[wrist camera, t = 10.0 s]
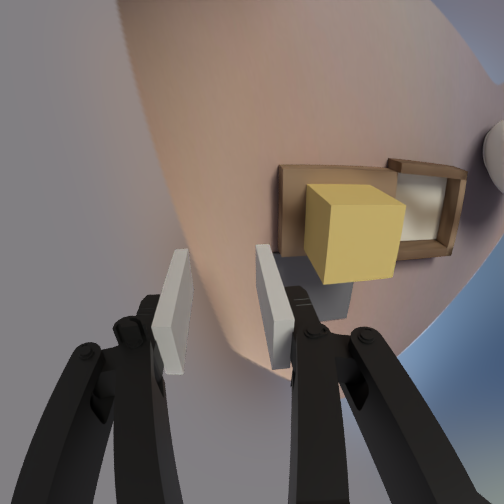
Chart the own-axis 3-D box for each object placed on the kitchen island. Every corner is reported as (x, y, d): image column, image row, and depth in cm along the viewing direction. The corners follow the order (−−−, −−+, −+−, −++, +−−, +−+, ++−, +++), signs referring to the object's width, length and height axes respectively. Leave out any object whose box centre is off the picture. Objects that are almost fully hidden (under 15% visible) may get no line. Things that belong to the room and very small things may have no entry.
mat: (272, 252, 28) (273, 254, 28) (357, 247, 29) (358, 249, 28) (271, 324, 32) (271, 326, 32) (345, 315, 33) (346, 317, 32)
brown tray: (278, 153, 24) (284, 157, 22) (453, 166, 25) (467, 171, 23) (277, 257, 28) (282, 269, 26) (439, 246, 30) (451, 255, 28)
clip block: (306, 184, 23) (331, 205, 18) (370, 184, 24) (406, 205, 18) (303, 249, 26) (323, 284, 21) (362, 245, 26) (392, 277, 21)
